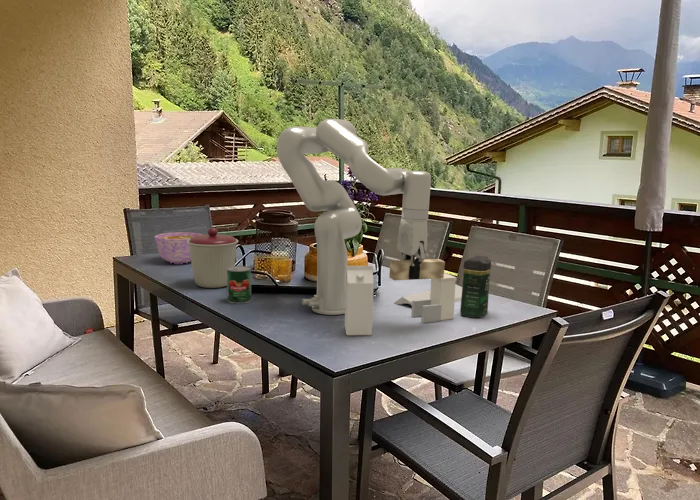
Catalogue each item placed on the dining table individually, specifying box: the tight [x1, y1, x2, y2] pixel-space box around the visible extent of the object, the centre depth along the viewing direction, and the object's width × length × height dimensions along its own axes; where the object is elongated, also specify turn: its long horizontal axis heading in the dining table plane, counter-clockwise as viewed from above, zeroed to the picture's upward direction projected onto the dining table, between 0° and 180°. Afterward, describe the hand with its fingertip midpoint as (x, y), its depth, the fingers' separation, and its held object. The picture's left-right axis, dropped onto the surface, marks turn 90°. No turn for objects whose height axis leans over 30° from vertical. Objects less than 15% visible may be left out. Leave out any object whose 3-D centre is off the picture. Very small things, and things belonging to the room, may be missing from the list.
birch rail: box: [388, 258, 446, 281], centre depth 173 cm, size 16×4×5 cm, turn 112°
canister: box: [187, 227, 239, 289], centre depth 215 cm, size 18×18×21 cm
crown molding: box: [393, 283, 462, 307], centre depth 204 cm, size 29×12×4 cm, turn 134°
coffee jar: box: [459, 255, 492, 318], centre depth 186 cm, size 10×8×19 cm
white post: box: [410, 272, 458, 324], centre depth 182 cm, size 11×7×13 cm, turn 113°
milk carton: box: [344, 265, 375, 336], centre depth 166 cm, size 7×7×19 cm
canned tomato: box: [226, 265, 252, 304], centre depth 196 cm, size 8×8×11 cm
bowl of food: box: [154, 231, 203, 265], centre depth 254 cm, size 20×20×12 cm
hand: (410, 276), depth 172 cm, fingers closed on birch rail, 3 cm apart
